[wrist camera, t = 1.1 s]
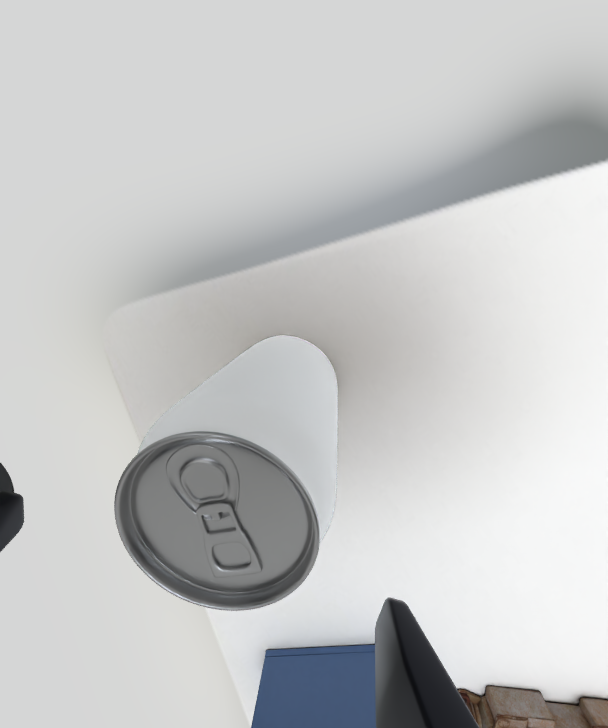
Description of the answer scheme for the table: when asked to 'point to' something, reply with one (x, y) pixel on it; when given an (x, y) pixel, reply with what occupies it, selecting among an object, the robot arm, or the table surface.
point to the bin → (317, 688)
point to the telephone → (532, 710)
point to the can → (237, 480)
